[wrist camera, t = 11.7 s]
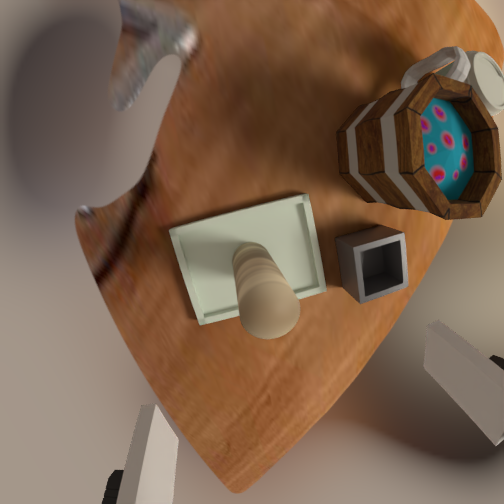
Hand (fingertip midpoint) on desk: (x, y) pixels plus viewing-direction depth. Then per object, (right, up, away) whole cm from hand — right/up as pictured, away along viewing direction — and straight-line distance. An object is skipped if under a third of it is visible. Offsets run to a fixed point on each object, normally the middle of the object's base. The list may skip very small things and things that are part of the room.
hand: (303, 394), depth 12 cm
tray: (-2, +5, +23) cm, 24 cm away
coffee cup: (+25, +29, +20) cm, 43 cm away
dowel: (-2, +5, +23) cm, 23 cm away
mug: (+15, +22, +21) cm, 34 cm away
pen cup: (+12, +6, +25) cm, 28 cm away
